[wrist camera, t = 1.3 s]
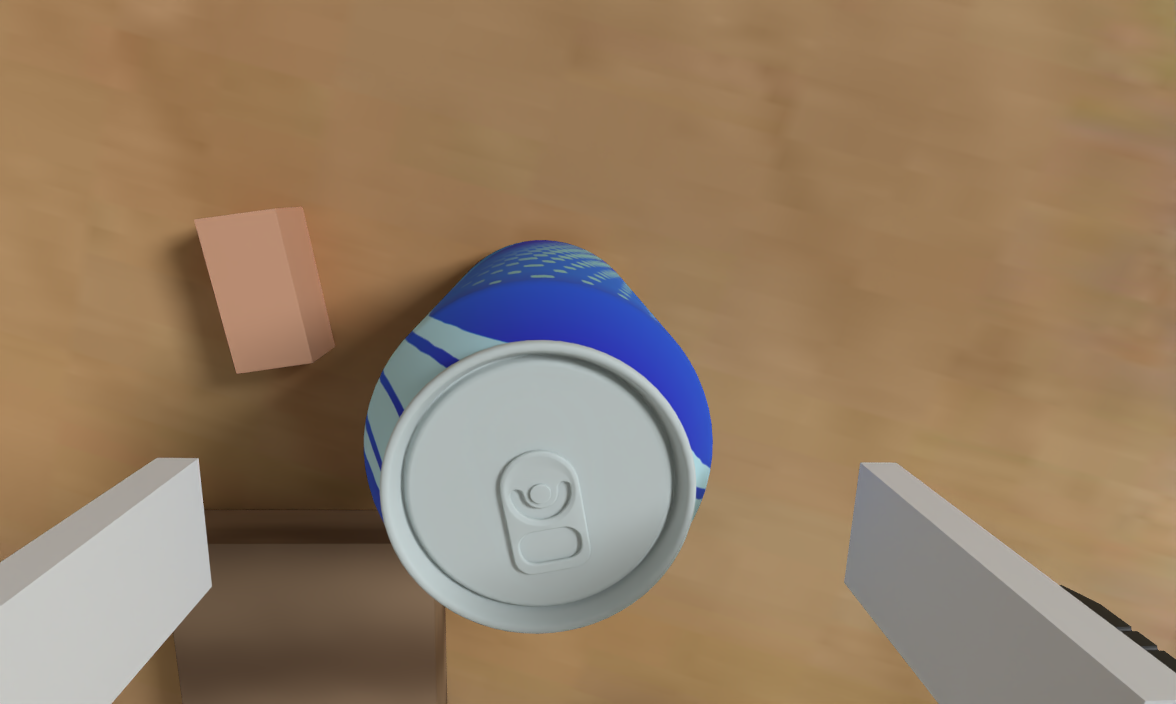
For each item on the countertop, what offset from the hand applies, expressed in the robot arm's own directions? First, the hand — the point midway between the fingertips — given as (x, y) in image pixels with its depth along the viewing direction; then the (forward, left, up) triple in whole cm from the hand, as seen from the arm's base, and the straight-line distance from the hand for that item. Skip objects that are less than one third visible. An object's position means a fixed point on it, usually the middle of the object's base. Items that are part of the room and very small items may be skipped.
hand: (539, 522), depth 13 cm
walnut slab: (+14, -10, -17) cm, 24 cm away
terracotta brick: (-2, -11, -17) cm, 20 cm away
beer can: (0, 0, -17) cm, 17 cm away
